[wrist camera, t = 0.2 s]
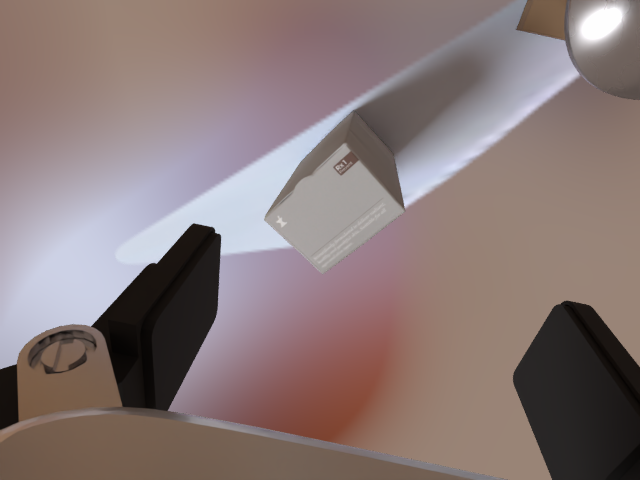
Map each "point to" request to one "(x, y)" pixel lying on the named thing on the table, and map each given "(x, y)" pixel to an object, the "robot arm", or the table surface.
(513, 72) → the table surface
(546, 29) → the balance base
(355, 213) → the skincare box
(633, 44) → the balance
